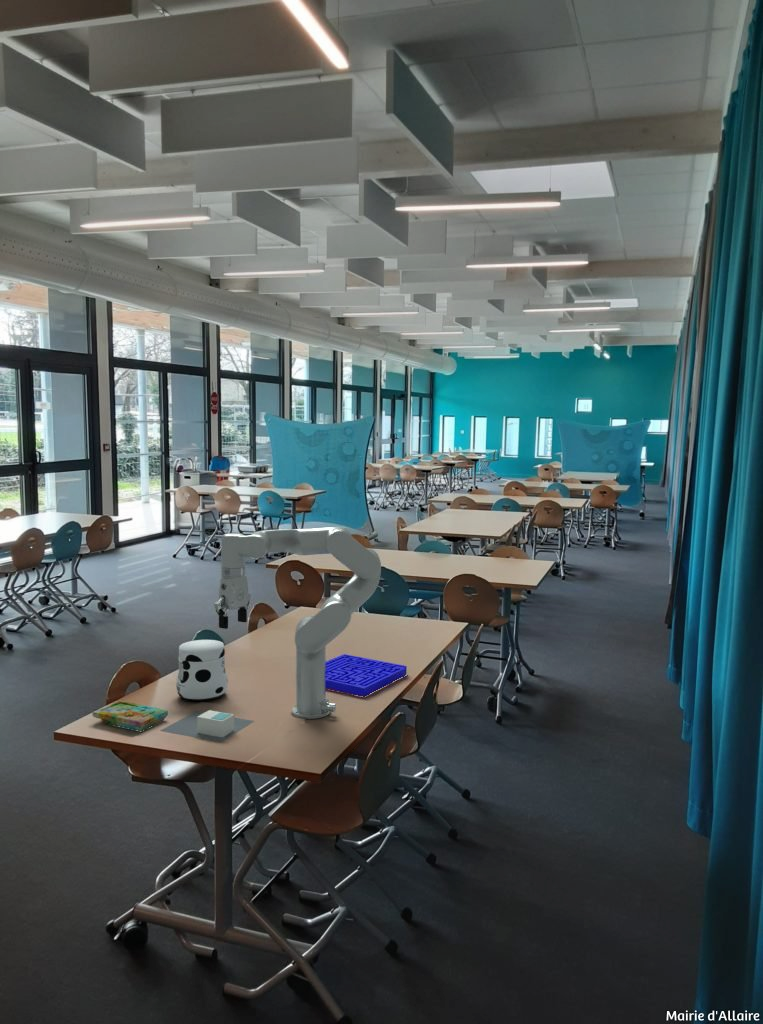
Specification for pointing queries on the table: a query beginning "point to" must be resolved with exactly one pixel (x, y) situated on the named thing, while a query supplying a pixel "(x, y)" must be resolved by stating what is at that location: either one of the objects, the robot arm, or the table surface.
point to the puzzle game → (131, 715)
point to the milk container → (201, 670)
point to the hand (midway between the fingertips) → (233, 624)
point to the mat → (189, 727)
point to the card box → (215, 723)
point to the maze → (360, 674)
